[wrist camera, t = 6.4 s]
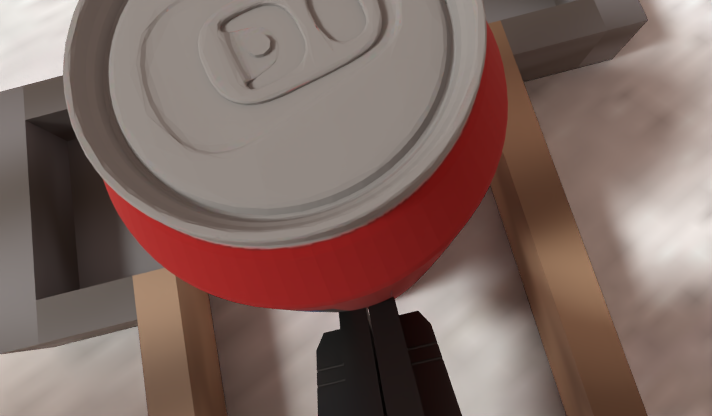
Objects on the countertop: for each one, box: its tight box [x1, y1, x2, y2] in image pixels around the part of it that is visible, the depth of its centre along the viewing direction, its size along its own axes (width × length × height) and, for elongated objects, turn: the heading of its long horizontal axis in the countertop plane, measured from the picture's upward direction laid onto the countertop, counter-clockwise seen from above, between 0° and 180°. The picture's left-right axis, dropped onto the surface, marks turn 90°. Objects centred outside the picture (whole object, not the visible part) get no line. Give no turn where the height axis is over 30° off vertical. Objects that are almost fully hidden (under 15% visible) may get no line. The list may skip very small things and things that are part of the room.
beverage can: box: [63, 0, 508, 312], centre depth 11 cm, size 7×7×12 cm
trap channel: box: [0, 0, 648, 416], centre depth 16 cm, size 31×25×4 cm
